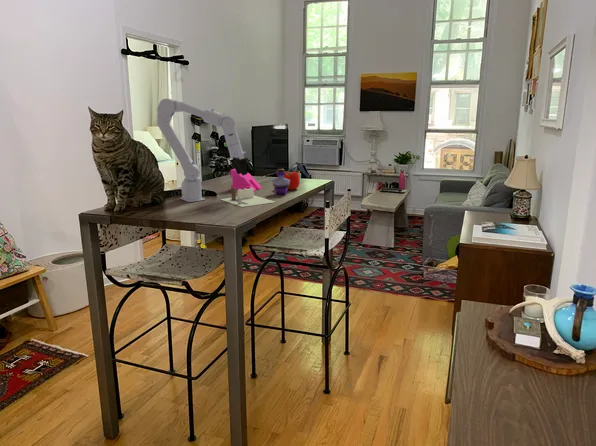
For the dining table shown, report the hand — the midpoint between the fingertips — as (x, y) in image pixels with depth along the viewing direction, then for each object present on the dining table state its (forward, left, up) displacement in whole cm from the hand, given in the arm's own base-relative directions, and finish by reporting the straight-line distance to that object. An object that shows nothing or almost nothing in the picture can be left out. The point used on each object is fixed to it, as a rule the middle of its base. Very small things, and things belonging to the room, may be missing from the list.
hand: (242, 174), depth 199 cm
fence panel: (+1, +1, -11) cm, 11 cm away
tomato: (-9, +32, -11) cm, 35 cm away
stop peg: (+9, -7, -11) cm, 16 cm away
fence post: (+1, -5, -11) cm, 12 cm away
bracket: (-20, +14, -12) cm, 27 cm away
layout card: (+5, -1, -11) cm, 12 cm away
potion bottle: (0, +21, -11) cm, 24 cm away
